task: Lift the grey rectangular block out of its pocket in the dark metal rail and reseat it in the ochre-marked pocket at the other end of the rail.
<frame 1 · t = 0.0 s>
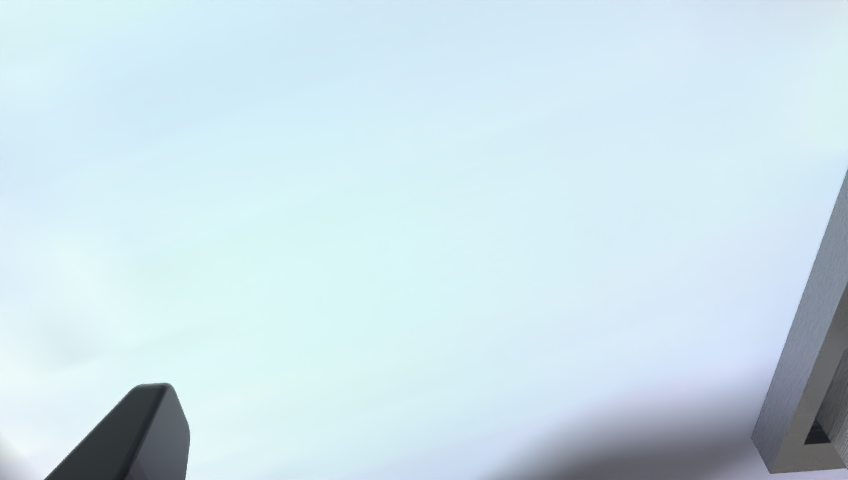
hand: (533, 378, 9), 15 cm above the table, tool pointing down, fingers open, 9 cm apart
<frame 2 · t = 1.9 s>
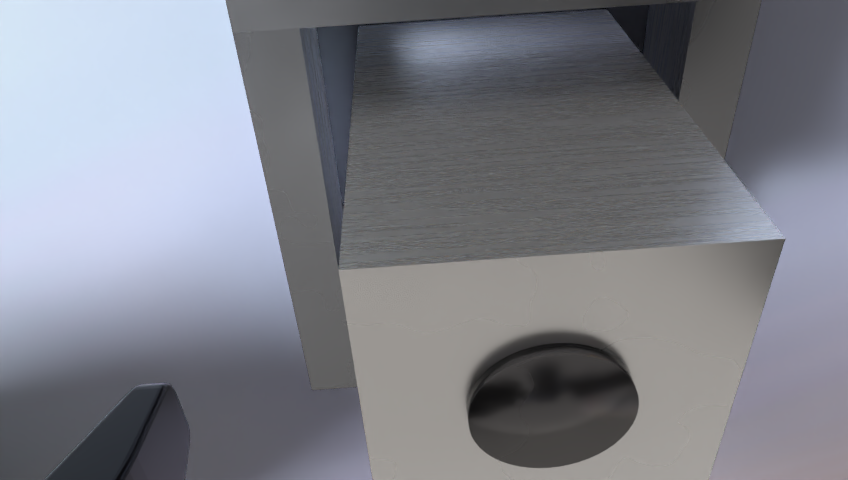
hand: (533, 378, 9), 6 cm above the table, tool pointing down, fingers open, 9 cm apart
grey rectangular block: (483, 128, 14), resting in rail
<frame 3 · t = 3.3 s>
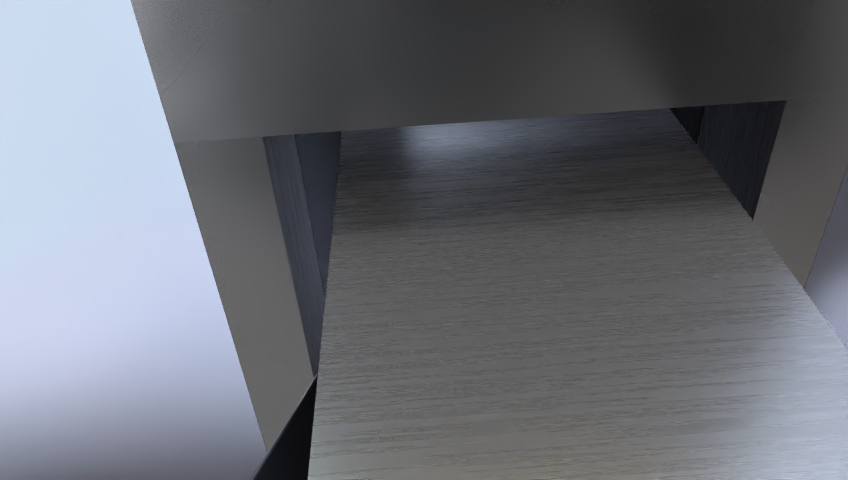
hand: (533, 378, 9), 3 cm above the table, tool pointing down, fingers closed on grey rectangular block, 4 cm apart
grey rectangular block: (498, 228, 11), resting in rail, touching gripper
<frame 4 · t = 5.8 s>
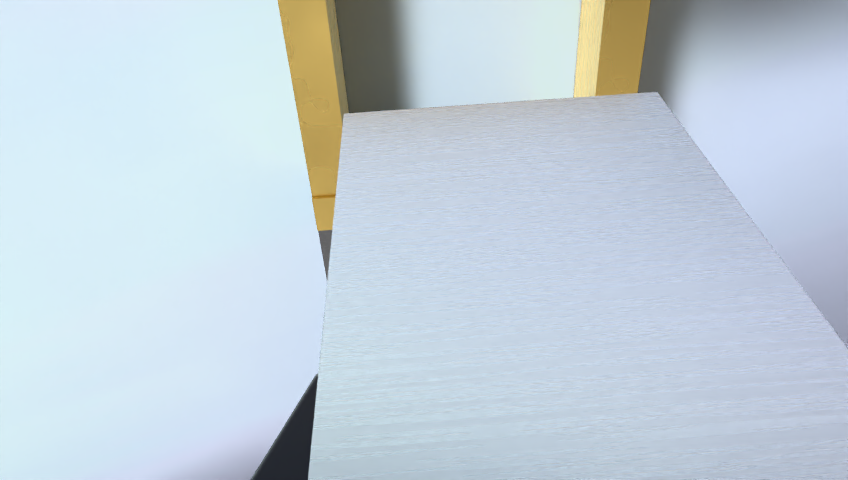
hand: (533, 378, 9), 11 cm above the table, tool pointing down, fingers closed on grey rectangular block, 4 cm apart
rail: (464, 260, 22), on the table
grey rectangular block: (498, 229, 11), point 8 cm above the table, touching gripper
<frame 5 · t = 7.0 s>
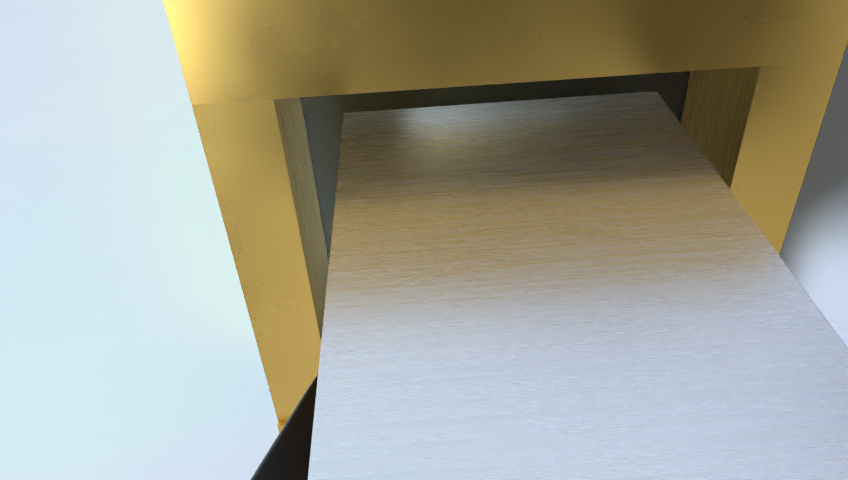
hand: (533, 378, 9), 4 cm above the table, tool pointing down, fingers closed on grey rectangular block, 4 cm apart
rail: (491, 450, 16), on the table
grey rectangular block: (498, 229, 11), point 1 cm above the table, touching gripper
when the fingers open (4 cm above the table, at t = 7.7 s): grey rectangular block stays where it is, resting in rail.
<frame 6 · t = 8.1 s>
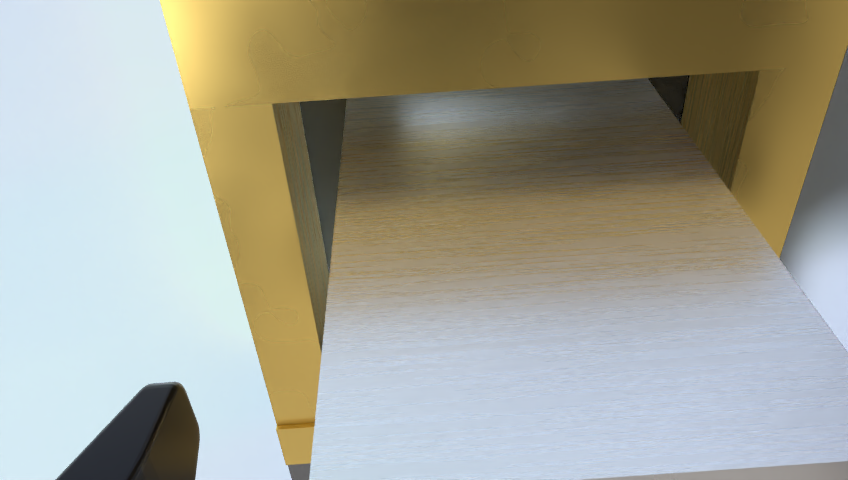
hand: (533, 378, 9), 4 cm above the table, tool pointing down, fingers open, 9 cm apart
rail: (491, 453, 16), on the table
grey rectangular block: (493, 201, 12), resting in rail
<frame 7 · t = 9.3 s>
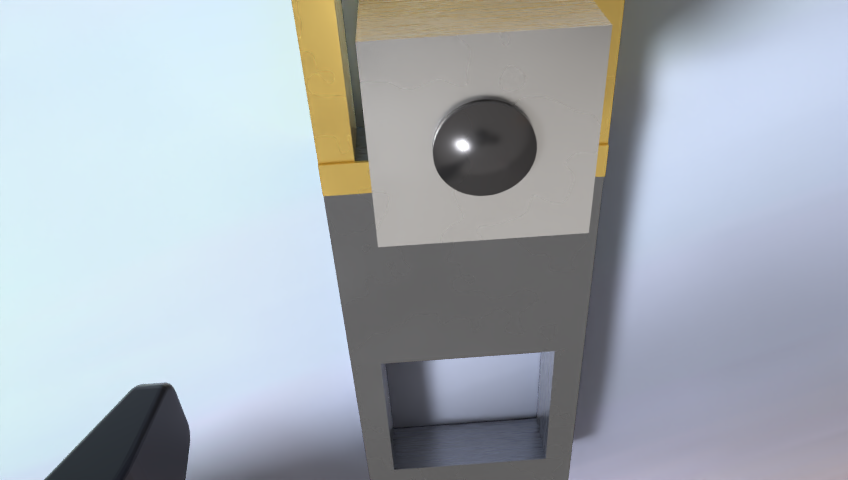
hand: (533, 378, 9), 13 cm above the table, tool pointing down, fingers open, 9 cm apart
rail: (459, 229, 23), on the table
grey rectangular block: (454, 22, 19), resting in rail
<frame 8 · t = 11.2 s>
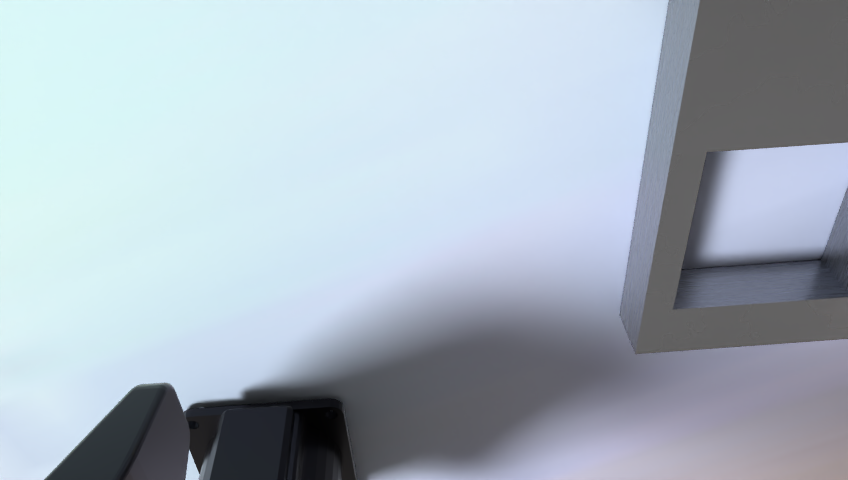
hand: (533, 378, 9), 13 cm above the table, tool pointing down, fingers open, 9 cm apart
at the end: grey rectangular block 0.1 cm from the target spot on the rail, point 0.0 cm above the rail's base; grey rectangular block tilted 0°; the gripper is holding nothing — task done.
